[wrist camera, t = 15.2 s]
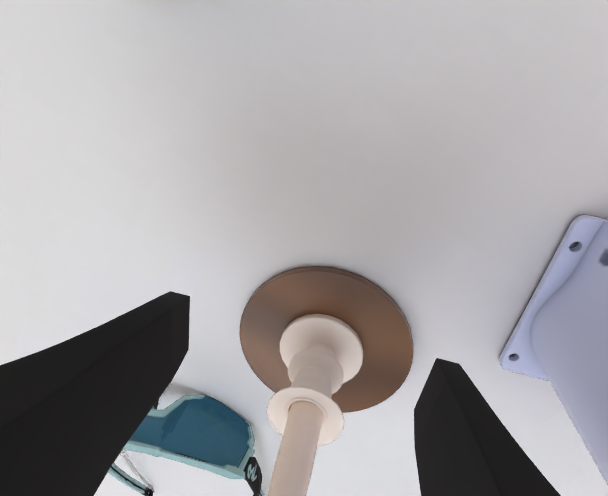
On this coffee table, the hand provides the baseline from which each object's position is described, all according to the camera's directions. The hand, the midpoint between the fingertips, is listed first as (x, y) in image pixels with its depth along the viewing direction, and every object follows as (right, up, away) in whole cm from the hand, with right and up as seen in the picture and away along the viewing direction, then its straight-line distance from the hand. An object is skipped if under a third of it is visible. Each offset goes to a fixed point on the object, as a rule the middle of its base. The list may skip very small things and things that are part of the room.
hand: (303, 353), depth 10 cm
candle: (+1, -3, +12) cm, 13 cm away
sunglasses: (-10, -14, +20) cm, 27 cm away
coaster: (+1, -3, +13) cm, 13 cm away
